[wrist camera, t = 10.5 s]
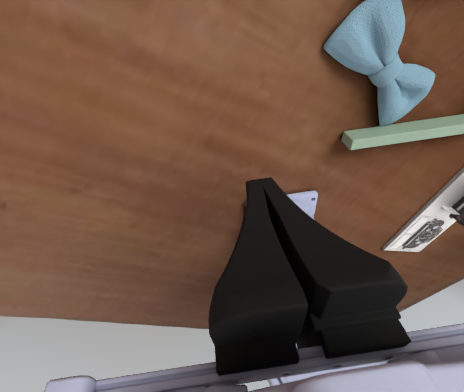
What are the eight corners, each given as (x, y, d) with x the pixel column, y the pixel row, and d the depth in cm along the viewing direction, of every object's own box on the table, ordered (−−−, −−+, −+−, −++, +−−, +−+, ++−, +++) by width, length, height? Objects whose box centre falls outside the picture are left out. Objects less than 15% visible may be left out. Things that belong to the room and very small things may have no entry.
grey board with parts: (465, 164, 26) (505, 190, 22) (508, 171, 27) (552, 197, 24) (381, 247, 35) (401, 274, 32) (417, 249, 37) (439, 275, 33)
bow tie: (453, 88, 18) (391, 135, 20) (437, 82, 19) (380, 127, 21) (402, -34, 13) (327, 46, 15) (385, -32, 14) (318, 42, 16)
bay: (481, 120, 22) (499, 128, 21) (340, 140, 22) (350, 150, 21) (616, -91, 14) (662, -99, 12) (387, -60, 13) (408, -65, 12)
